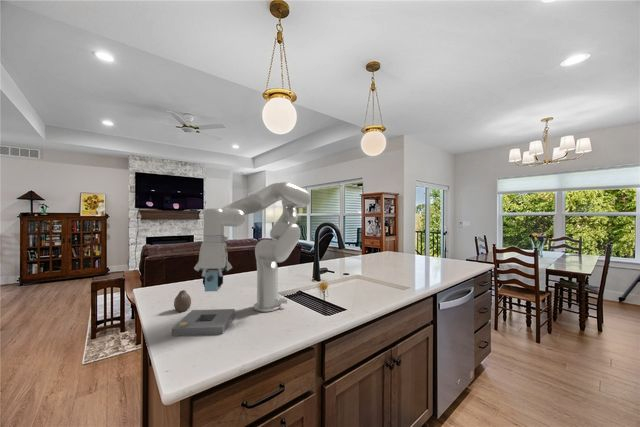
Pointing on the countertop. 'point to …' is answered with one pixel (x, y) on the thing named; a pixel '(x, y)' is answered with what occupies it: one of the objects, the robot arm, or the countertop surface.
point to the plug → (211, 280)
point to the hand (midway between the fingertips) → (212, 285)
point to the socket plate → (194, 325)
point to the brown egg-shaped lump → (182, 301)
